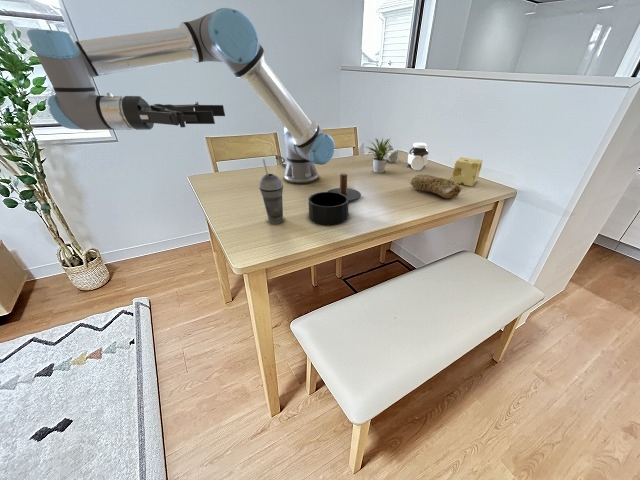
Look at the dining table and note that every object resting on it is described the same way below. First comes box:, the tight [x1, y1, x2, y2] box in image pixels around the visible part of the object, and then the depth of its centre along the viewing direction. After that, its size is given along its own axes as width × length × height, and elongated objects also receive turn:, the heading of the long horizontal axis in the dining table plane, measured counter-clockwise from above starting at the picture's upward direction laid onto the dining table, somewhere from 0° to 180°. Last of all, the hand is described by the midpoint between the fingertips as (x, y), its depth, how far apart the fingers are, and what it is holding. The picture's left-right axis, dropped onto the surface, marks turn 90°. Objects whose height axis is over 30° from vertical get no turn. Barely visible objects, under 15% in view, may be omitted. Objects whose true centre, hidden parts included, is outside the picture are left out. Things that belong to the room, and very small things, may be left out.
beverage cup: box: [259, 158, 284, 225], centre depth 87 cm, size 7×7×20 cm
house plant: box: [365, 137, 392, 174], centre depth 138 cm, size 14×14×16 cm
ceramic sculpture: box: [373, 144, 400, 164], centre depth 156 cm, size 11×9×15 cm
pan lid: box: [326, 172, 362, 203], centre depth 110 cm, size 14×14×9 cm
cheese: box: [450, 156, 484, 187], centre depth 129 cm, size 10×11×10 cm
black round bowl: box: [307, 191, 350, 226], centre depth 95 cm, size 13×13×6 cm
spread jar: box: [407, 142, 429, 171], centre depth 145 cm, size 12×11×12 cm
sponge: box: [410, 174, 462, 199], centre depth 117 cm, size 13×8×20 cm
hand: (219, 113), depth 73 cm, fingers open, 13 cm apart
